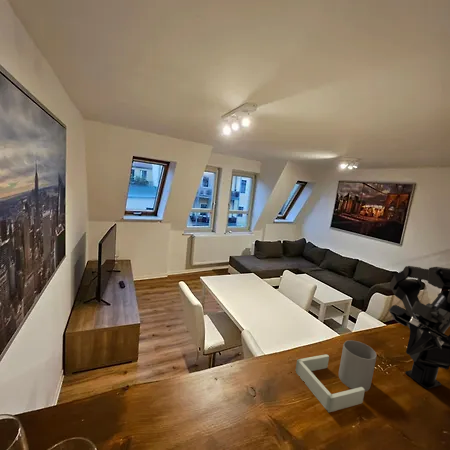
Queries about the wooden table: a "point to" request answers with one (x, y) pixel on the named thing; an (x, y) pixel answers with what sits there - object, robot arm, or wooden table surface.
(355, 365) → the cup
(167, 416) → the wooden table surface
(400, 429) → the wooden table surface
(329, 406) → the u-shaped wall frame
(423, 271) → the robot arm
